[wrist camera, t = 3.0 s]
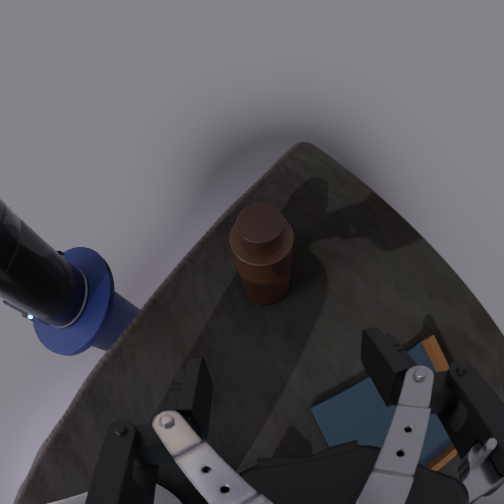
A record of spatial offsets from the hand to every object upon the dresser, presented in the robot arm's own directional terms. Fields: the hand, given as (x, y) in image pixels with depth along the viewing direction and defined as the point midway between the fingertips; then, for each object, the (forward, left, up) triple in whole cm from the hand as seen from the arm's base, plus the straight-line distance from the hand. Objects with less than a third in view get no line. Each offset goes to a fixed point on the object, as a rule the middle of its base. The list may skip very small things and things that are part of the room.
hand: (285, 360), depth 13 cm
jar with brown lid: (+3, +10, -15) cm, 18 cm away
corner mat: (+9, -12, -15) cm, 21 cm away
